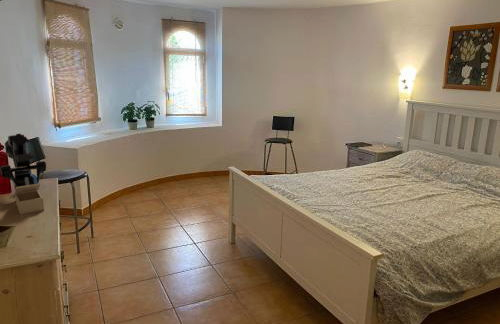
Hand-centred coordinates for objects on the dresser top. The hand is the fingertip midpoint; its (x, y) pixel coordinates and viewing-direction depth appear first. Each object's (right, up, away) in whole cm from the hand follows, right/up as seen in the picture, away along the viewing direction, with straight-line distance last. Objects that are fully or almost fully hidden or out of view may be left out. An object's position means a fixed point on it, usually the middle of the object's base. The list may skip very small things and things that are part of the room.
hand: (27, 183), depth 178 cm
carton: (-2, -12, +6) cm, 14 cm away
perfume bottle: (-18, -5, +33) cm, 38 cm away
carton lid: (-2, -3, +4) cm, 5 cm away
